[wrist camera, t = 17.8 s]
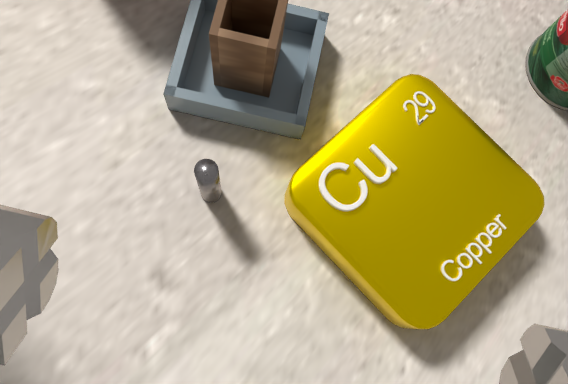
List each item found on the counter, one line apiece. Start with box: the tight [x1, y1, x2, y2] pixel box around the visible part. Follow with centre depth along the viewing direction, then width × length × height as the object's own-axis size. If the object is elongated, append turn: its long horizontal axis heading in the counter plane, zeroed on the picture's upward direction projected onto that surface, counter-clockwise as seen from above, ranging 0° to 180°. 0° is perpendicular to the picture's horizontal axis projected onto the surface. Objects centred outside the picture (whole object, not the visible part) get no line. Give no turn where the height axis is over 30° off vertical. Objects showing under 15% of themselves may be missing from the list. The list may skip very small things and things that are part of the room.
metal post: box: [194, 159, 221, 203], centre depth 38 cm, size 2×2×6 cm
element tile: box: [285, 74, 544, 329], centre depth 40 cm, size 15×15×5 cm
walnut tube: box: [209, 0, 288, 98], centre depth 39 cm, size 5×5×8 cm
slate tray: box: [164, 0, 329, 139], centre depth 42 cm, size 11×10×3 cm
